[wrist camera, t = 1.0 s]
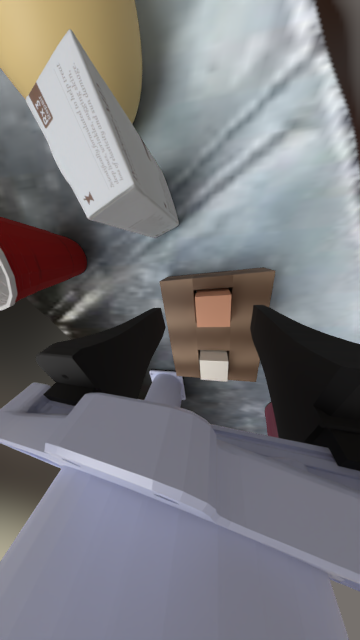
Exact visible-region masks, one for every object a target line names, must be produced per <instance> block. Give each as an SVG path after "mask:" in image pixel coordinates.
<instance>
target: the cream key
mask: <svg viewBox="0 0 360 640" xmlns="http://www.w3.org/2000/svg"><path fill="white" fill-rule="evenodd" d="M200 374H201V380H213V381H226V382H227V380H228V357H227V351H223V350H200Z"/></svg>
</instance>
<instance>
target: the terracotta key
mask: <svg viewBox="0 0 360 640" xmlns="http://www.w3.org/2000/svg"><path fill="white" fill-rule="evenodd" d="M195 305H196V319H197V327H230V316H231V293H230V291H229V289H228V288H219V289H205V290H197V292H196V295H195Z"/></svg>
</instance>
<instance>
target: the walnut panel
mask: <svg viewBox="0 0 360 640" xmlns="http://www.w3.org/2000/svg"><path fill="white" fill-rule="evenodd" d="M274 277H275V271H274V270H271V269H267V268H253V269H243V270H233V271H223V272H212V273H202V274H192V275H182V276H172V277H167V278H165V279H163V280H161V281H160V286H161V292H162V298H163V303H164V309H165V314H166V320H167V325H168V331H169V336H170V342H171V348H172V353H173V359H174V364H175V370H176V375H177V376H185V377H198V378H201V374H200V350H223V351H227V357H228V380H237V381H250V382H256V379H257V373H258V367H259V362H260V359H259V356H258V353H257V351H256V348H255V345H254V343H253V340H252V336H251V331H250V325H251V319H252V312H253V305H265V306H267V307H269V305H270V299H271V294H272V288H273V282H274ZM214 288H228V289H229V291H230V293H231V316H230V327H197V319H196V305H195V295H196V290H200V289H214Z"/></svg>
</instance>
